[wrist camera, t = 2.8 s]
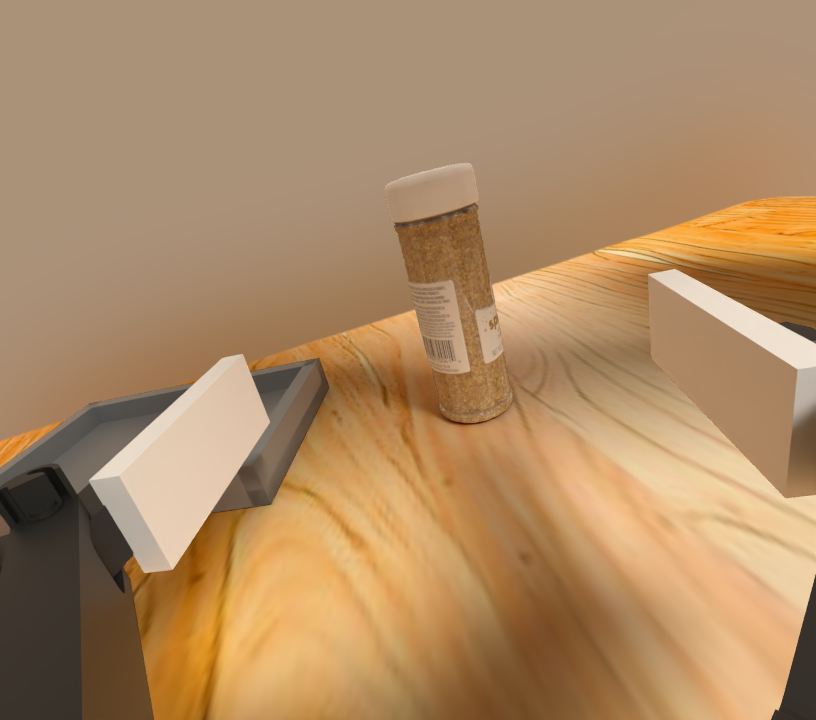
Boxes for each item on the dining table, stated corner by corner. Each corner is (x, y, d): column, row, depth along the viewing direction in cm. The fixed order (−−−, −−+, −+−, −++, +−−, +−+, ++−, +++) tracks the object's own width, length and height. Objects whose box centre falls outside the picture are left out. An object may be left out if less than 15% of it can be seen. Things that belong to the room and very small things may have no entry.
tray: (329, 387, 36) (319, 357, 35) (270, 504, 24) (253, 464, 23) (104, 429, 40) (89, 403, 39) (-42, 549, 28) (-69, 517, 27)
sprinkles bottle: (530, 405, 27) (490, 155, 22) (461, 436, 26) (401, 180, 21) (488, 379, 31) (446, 164, 26) (427, 405, 30) (369, 185, 25)
